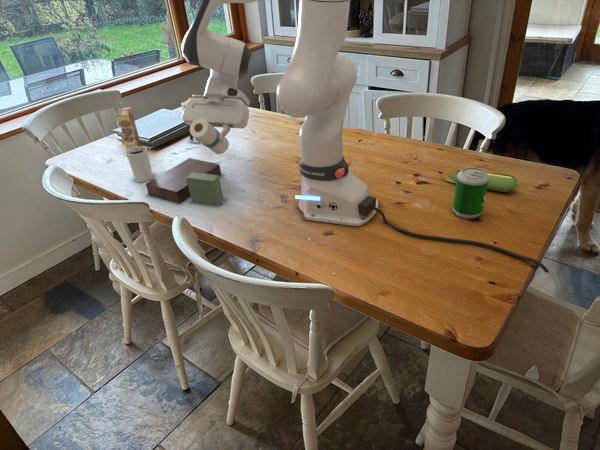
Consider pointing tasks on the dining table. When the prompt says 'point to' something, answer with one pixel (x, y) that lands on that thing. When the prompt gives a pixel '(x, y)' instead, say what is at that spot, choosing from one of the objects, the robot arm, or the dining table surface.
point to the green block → (205, 188)
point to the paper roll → (208, 136)
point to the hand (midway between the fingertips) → (209, 139)
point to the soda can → (470, 192)
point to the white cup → (140, 163)
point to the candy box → (128, 128)
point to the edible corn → (495, 181)
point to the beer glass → (189, 125)
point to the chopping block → (179, 180)
